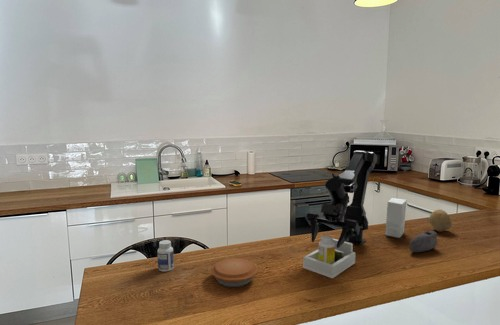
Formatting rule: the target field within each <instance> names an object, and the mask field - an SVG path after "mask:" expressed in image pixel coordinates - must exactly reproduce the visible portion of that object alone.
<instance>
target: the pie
mask: <svg viewBox="0 0 500 325" xmlns="http://www.w3.org/2000/svg"><path fill="white" fill-rule="evenodd" d="M258 271H259V269H258V266H257V264H256V263H254V262H253V261H251V260H247V259H244V258H239V257H238V258H237V257H236V258H235V257H231V258H226V259H222V260H220V261H218V262H216V263H214V264H213V265H212V266H211V268H210V272H211V275H212V276H213V277H214V278H215V280H216V281H217V282H218V283H219V285H222V286H225V287H227V288H228V287H229V288H238V287H243V286H245V285H248V284H249V283H250V282H251V281H252V279H253V278H254V277H255V275H257V273H258Z"/></svg>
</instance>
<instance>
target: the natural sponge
mask: <svg viewBox="0 0 500 325" xmlns="http://www.w3.org/2000/svg"><path fill="white" fill-rule="evenodd" d="M428 222H429V224H430V225H431V226H432V228H433V229H434V230H435V231H437V232H444V231H447V230H449V229H451V228H452V226H453V223H452V219H451V218H450V215H449V214H448V213H447V212H446V211H445V210H443V209H435V210H434V211H432V213H430V215H429V217H428Z"/></svg>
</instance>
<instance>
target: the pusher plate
mask: <svg viewBox="0 0 500 325" xmlns="http://www.w3.org/2000/svg"><path fill="white" fill-rule="evenodd" d="M343 257H344V252H342V251H339V250H336V249H335V259H334V262H337V261H338V260H340V259H342V258H343Z"/></svg>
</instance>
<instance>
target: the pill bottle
mask: <svg viewBox="0 0 500 325" xmlns="http://www.w3.org/2000/svg"><path fill="white" fill-rule="evenodd" d="M158 246H159V247H158V249H157V267H158V268H157V269H158V270H159V271H161V272H170V271H171V270H174V268H175V264H174V263H175V262H174V248H173V246H172V242H171V240H168V239H166V240H165V239H164V240H160V241H159V243H158Z"/></svg>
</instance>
